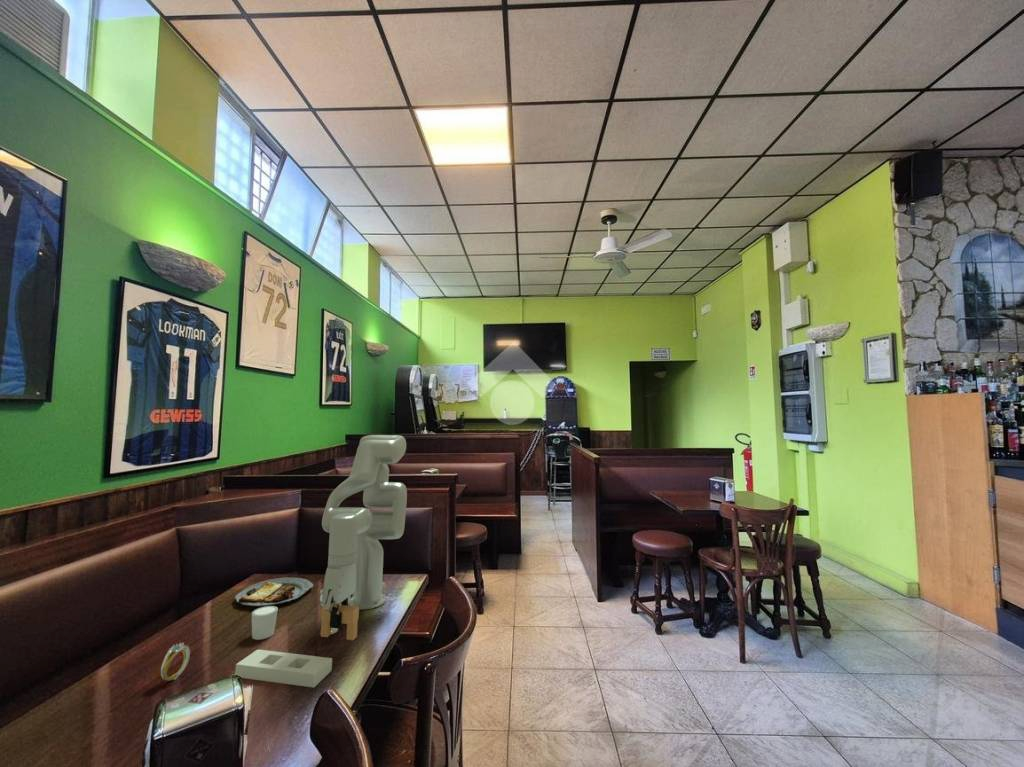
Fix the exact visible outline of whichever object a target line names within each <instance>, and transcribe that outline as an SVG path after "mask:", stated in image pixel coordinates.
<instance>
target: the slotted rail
mask: <svg viewBox="0 0 1024 767" xmlns="http://www.w3.org/2000/svg"><path fill="white" fill-rule="evenodd" d="M332 669H333V658H332V657H323V656H316V655H307V654H300V653H299V654H298V653H291V652H283V651H274V650H266V649H256V650H254V651H253V652H252V653H251V654H249V655H247V656H246V657H244V658H243V659H242V660H240V661H239V662H237V663H236V664H235V674H234V676H235V675H238V676H240V677H241V678H240V679H248V680H256V681H261V682H262V681H263V682H270V683H276V684H283V685H284V684H286V685H292V686H300V687H307V688H316V686H317V685H318V684H319V683H321V682H322V681H323V680H324V679H325V677H326V676H328V674H329V673H331V672H332Z"/></svg>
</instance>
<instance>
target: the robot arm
mask: <svg viewBox="0 0 1024 767" xmlns="http://www.w3.org/2000/svg"><path fill="white" fill-rule="evenodd" d="M406 450H407V441H406V438H405V437H404V436H403V435H400V434H399V435H398V434H394V435H393V434H392V435H391V434H390V435H389V434H368V435H365V436H362V437H361V438H360V440H359V444H358V447H357V448H356V453H355V456H354V460H353V463H352V467H351V470H350V473H349V476H348V477H347V478H346V479H345V480H344V481H342V482H341V483H340V484H339V485H338V486H336V488H335V489H333V491H332V492H331V493H330V495H329V496H328V499H327V502H326V505H325V507H324V511H323V514H322V519H321V527H322V530H323V531H324V532H326V533H329V540H328V557H327V558H328V559H327V568H326V571H325V575H324V581H323V588H322V589H323V600H322V601H323V603H324V604H325V603H326V606H325V611H329V614H330V628H337V629H338V630H340V629H341V628H342V623H341V621H342V613H340V612H341V605H348V606H358V607H359V611H361V610H362V611H363V610H370V609H372V610H373V609H375V607H376V608H377V607H381V606H382V605H384V604H385V602H386V600H387V597H386V595H385V594H384V593H382V592H383V591H382V590H383V589H384V588H385V587H386V585H387V584H386V582H384V581H383V572H384V570H383V568H384V548H383V546H382V544H381V542H380V541H379V540H397V539H400V538H402V536H403V535H404V532H405V525H406V512H407V511H406V510H407V503H408V502H407V501H408V500H407V499H408V491H407V486H406V485H405V484H404V483H403V482H398V481H397V482H395V481H394V482H393V481H390V482H389V478H390V476H389V475H390V468H389V465H390V464H391V465H394V464H397V463H398V462H400V460H401V459H402V457H404V456H405V453H406ZM387 464H388V465H387ZM362 491H363V493H362V494H363V495H362V502H363V506H364V507H347V506H346V507H345V506H344V507H343V506H342V507H339V506H340V505H341V503H342V502H343V501H344V500H346V499H347V498H349V497H351V496H352V495H354V494H357V493H359V492H362ZM370 508H371V509H391V510H392V511H371V510H370ZM334 605H337V608H336V607H334Z"/></svg>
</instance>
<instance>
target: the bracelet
mask: <svg viewBox="0 0 1024 767" xmlns="http://www.w3.org/2000/svg"><path fill="white" fill-rule="evenodd" d="M179 652H181V653H182V655H183V660H182V663H181V666H180V668H179V669H178V670H177V672H175V673H173V674H172V675H171V676H168V669H169V668H170V665H171V663H172V662H173V660H174V659H175V658H176V656H177V655H178V654H179ZM172 653H173V654H172ZM171 654H172V655H171ZM170 655H171V656H170ZM190 655H191V650H190V647H189V645H185V642H179V644H178V643H176V644H172V646H171V647H170V648H168V651H167V652H166V654H165V655H164V659H163V661H162V663H161V667H160V677H161V678H162V680H165V681H168V682H170V681H174V680H176V679H178V678H179V676H180V675H181V674H182V673H183V671H185V669H186V667H187V666H188V663H189V661H190V658H191V657H190Z"/></svg>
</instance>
